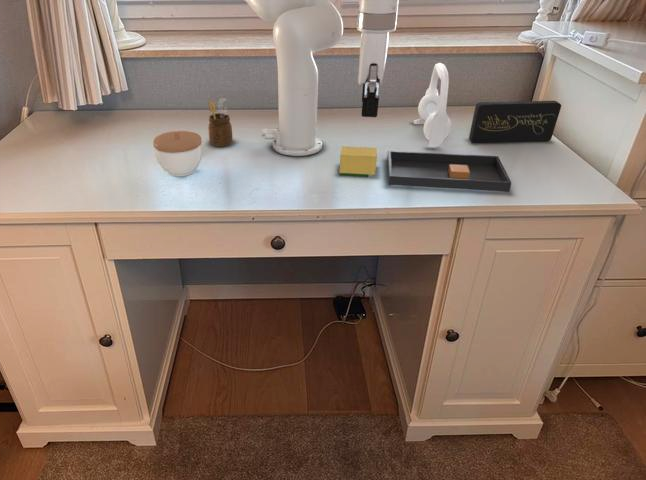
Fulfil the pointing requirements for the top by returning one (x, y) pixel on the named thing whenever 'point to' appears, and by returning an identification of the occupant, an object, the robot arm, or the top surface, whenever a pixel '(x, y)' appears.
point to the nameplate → (514, 121)
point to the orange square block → (458, 171)
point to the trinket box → (178, 152)
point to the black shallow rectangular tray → (446, 171)
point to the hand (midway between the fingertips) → (369, 109)
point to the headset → (435, 108)
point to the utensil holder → (219, 127)
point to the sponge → (358, 161)
